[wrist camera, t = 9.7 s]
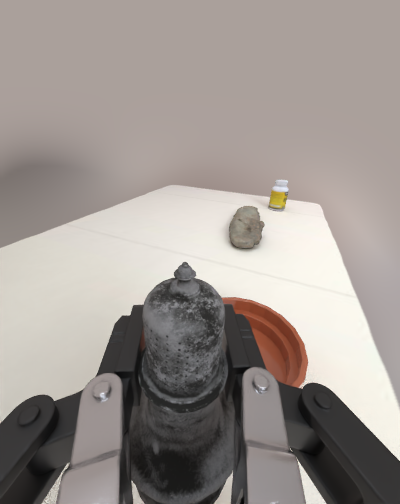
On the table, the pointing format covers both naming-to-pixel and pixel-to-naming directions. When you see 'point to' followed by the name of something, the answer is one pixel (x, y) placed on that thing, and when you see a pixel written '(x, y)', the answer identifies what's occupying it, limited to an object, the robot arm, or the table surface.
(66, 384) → the table surface
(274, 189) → the pill bottle
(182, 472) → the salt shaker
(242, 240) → the long grey stone
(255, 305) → the bowl
